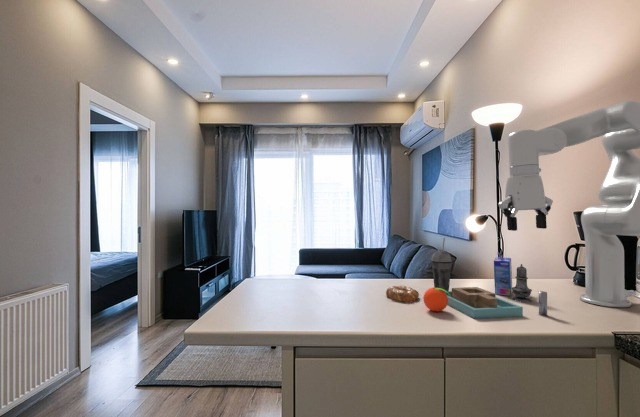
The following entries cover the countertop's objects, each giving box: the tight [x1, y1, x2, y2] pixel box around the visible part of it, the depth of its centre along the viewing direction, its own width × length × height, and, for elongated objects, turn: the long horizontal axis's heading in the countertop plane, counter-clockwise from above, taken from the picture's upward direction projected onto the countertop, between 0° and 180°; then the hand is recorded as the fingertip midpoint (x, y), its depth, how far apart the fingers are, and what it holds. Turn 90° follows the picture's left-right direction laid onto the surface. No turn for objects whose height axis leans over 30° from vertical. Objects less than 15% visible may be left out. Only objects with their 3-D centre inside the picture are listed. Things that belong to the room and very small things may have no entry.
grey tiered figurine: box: [511, 263, 533, 303], centre depth 109 cm, size 6×6×12 cm
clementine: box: [422, 287, 451, 313], centre depth 97 cm, size 8×7×7 cm
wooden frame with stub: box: [451, 286, 498, 308], centre depth 100 cm, size 9×14×4 cm, turn 9°
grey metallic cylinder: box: [538, 290, 548, 317], centre depth 93 cm, size 2×2×6 cm
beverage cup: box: [430, 237, 453, 292], centre depth 118 cm, size 7×7×20 cm
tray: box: [445, 290, 524, 320], centre depth 101 cm, size 15×20×2 cm
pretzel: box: [385, 285, 420, 303], centre depth 112 cm, size 12×11×4 cm
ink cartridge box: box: [493, 251, 513, 297], centre depth 119 cm, size 10×6×14 cm, turn 148°
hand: (527, 229), depth 98 cm, fingers open, 9 cm apart
